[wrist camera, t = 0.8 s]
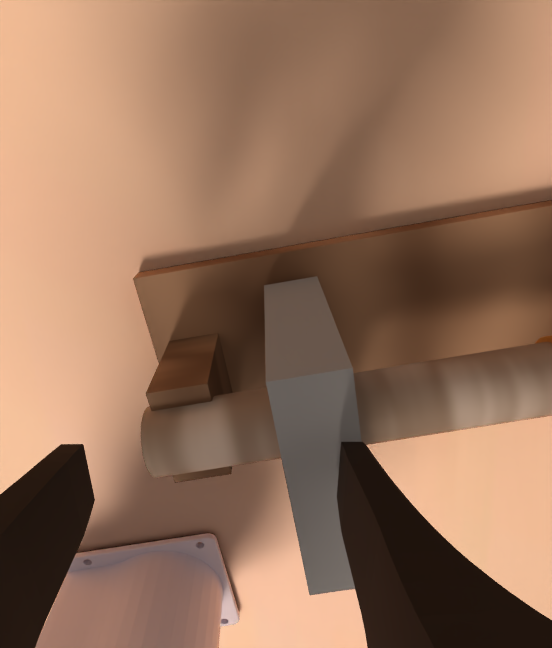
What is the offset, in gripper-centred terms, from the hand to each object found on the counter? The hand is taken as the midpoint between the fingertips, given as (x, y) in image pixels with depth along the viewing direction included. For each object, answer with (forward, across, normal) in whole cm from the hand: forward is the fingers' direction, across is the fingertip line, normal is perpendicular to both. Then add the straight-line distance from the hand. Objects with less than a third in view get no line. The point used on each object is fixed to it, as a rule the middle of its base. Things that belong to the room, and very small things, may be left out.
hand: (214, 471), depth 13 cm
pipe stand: (+11, -8, +1) cm, 14 cm away
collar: (+9, -3, +2) cm, 10 cm away
